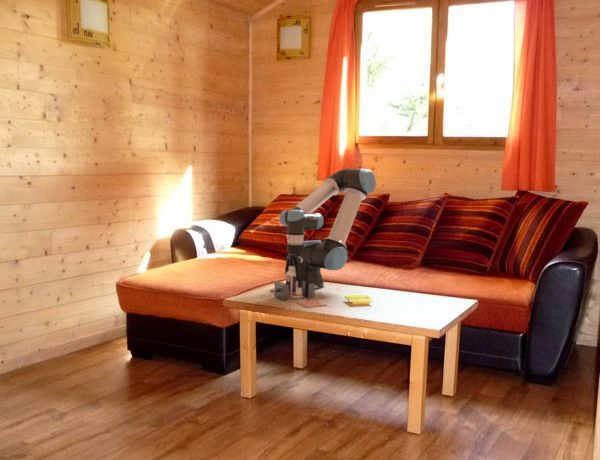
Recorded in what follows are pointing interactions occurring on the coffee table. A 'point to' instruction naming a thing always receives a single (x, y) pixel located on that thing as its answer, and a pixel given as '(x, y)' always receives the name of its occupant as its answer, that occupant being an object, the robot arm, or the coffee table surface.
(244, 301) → the coffee table surface
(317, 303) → the tile
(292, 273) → the pill bottle
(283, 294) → the vise
